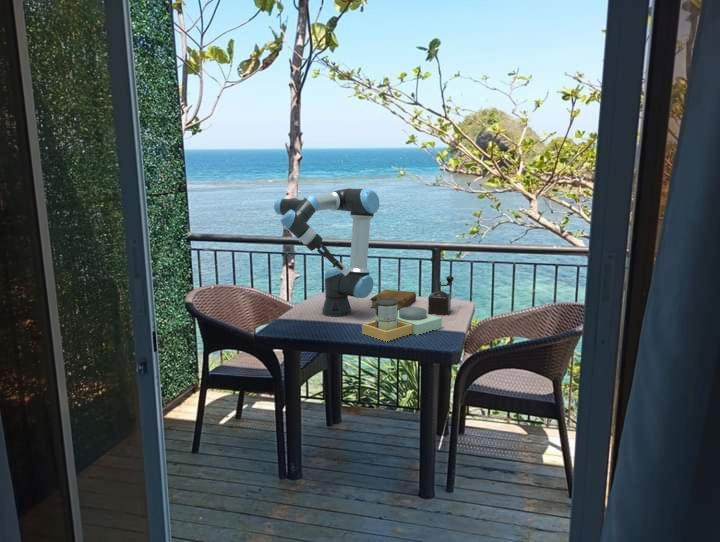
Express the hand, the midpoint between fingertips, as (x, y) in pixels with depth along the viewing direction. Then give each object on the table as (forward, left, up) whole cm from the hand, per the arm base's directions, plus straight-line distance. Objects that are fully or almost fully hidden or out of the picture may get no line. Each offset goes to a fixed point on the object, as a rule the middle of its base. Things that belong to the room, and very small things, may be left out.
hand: (344, 270), depth 259 cm
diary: (-23, +54, -30) cm, 66 cm away
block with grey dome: (+13, +31, -30) cm, 45 cm away
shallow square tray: (+13, +14, -30) cm, 35 cm away
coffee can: (+13, +14, -28) cm, 34 cm away
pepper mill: (+4, +62, -30) cm, 69 cm away
